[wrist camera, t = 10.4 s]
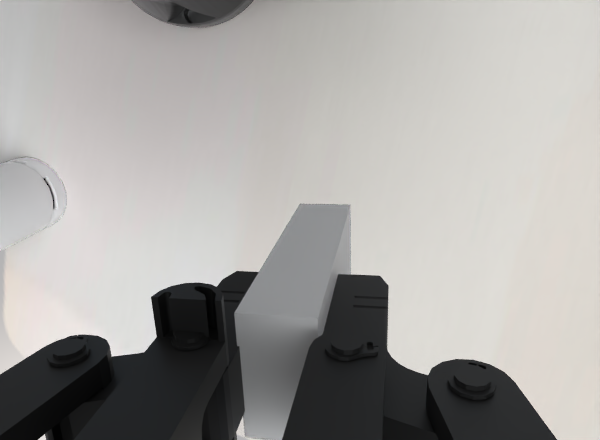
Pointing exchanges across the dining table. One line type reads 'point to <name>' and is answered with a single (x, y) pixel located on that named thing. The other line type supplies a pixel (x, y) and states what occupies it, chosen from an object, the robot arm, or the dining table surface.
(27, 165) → the bottle
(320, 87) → the dining table surface
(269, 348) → the robot arm
